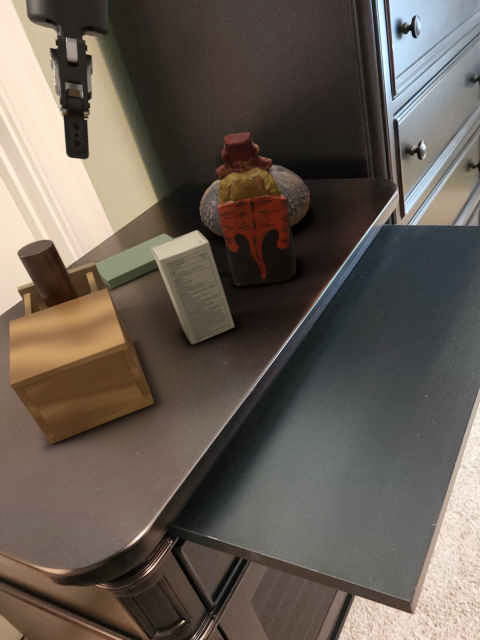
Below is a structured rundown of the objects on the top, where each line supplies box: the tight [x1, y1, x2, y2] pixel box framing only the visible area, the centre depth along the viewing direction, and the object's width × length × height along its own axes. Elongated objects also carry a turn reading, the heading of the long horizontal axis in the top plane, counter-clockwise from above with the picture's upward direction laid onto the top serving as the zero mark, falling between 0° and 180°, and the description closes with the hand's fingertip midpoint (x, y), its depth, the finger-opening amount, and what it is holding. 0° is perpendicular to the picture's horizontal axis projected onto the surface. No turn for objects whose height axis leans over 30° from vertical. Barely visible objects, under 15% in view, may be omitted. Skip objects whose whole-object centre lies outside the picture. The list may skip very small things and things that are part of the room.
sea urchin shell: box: [199, 164, 311, 238], centre depth 89 cm, size 19×19×10 cm
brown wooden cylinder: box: [16, 239, 80, 308], centre depth 65 cm, size 4×4×12 cm
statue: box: [214, 131, 297, 287], centre depth 71 cm, size 12×8×20 cm, turn 86°
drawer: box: [16, 261, 107, 316], centre depth 70 cm, size 17×10×7 cm, turn 24°
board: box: [95, 233, 174, 290], centre depth 86 cm, size 14×8×2 cm, turn 128°
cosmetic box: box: [151, 229, 235, 345], centre depth 64 cm, size 6×4×12 cm
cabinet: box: [9, 287, 155, 445], centre depth 60 cm, size 14×12×9 cm
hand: (76, 154), depth 58 cm, fingers open, 8 cm apart
